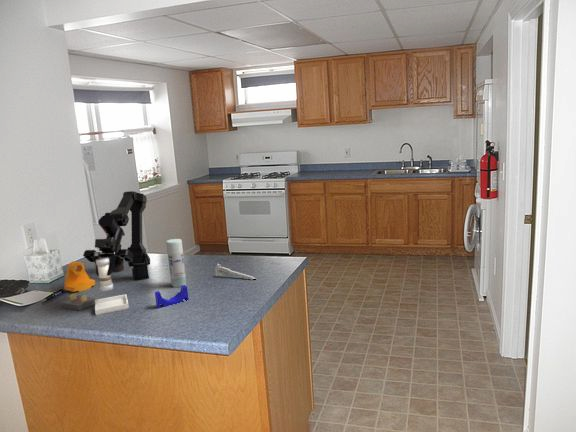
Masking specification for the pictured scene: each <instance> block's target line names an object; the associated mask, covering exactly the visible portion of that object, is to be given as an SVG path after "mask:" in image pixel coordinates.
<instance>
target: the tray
mask: <svg viewBox="0 0 576 432" xmlns="http://www.w3.org/2000/svg"><path fill="white" fill-rule="evenodd" d="M129 309H130V306H129V301H128V295H127V294H126V293H125V294H120V295H114V296H110V297H109V296H108V297H103V298H98V299H97V298H96V300H95V304H94V311H95V315H96V316H99V315H104V314H108V313H110V314H111V313H114V312H121V311H124V310H129Z"/></svg>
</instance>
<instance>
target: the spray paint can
mask: <svg viewBox="0 0 576 432" xmlns="http://www.w3.org/2000/svg"><path fill="white" fill-rule="evenodd" d="M165 244H166V252H167V259H168V268H169V274H170V283H171V287H172V286H173V287H172V288H181V286H182V285H185V286H186V285H187V276H186V269H185V258H184V249H183V241H182V239H181V238H171V239H168V240H166V241H165Z"/></svg>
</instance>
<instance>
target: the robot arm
mask: <svg viewBox="0 0 576 432" xmlns="http://www.w3.org/2000/svg"><path fill="white" fill-rule="evenodd" d="M147 202H148V199H147V196H146V195H145V194H144V193H140V192H137V191H134V190H132V191H124V192H123V193H122V198H121V199H120V201H119V203H118V206H117V207H116V209H113V210H112V211H111V212H105V213H104V215H103V216H101V217H100V218H99V219H98V225H99V226H100V228H101V229H102V231H103V232H104V233H105V234H106V233H107V236H106V238H95V241H94V248H95V249H85V250H84V252H83V255H82V256H83V257H84V258H85V259H86V260H87V261H88V262H90V263H94V264H95V273H96V276H98V277H99V273H98V266H97V265H96V260H97V259H100V258H111V263H110V266H109V269H108V273H107V275H108V276H110V275H111V276H112V274H113V273H114V272H113V271H114V270H115V269H116V268H117V267H118V266H120V265H121V264H122V263H123V264H124V263H125V262H127V264H128V266H129V267H132V268H131V274H132V279H134V281H141V280H144V279H145V280H146V279H150V276H149V270H148V266H149V265H151V257H150V256H149V255H148V253H147V249H146V247H145V246H144V244H143V213H144V211H145V209H146V207H147V205H146V204H147ZM129 212H131V214H130V216H131V225H130V226H131V244H130V246H128V247H127V248H122V245H121V242H122V238H123V236H125V235H126V234H125V231H124V229H123V228H122V227H126V226H127V225H128V224H129V221H130V218H129V215H128V214H129ZM96 248H97V249H98V250H99V252H98V251H96ZM119 248H121V249H120V250H118V249H119Z"/></svg>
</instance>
